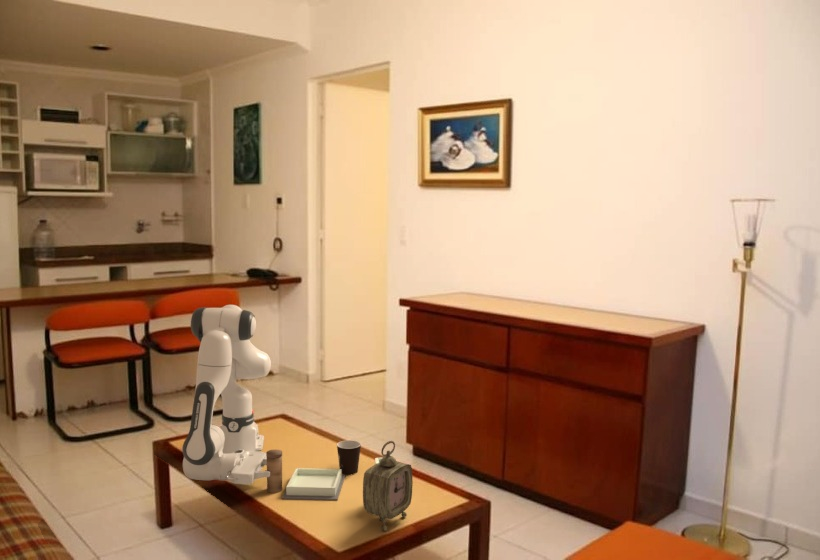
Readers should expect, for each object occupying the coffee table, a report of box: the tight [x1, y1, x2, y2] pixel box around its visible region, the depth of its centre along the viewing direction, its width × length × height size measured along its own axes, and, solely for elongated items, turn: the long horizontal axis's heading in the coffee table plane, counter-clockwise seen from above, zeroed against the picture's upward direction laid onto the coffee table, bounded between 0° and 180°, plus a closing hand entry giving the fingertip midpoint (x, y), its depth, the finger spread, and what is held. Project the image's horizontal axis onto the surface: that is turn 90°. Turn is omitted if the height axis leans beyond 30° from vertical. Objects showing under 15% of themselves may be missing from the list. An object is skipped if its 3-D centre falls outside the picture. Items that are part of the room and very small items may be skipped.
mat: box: [281, 474, 346, 501], centre depth 228 cm, size 20×18×1 cm
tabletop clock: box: [362, 440, 414, 532], centre depth 202 cm, size 14×9×25 cm, turn 148°
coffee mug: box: [336, 439, 362, 476], centre depth 243 cm, size 12×9×10 cm
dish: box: [285, 467, 343, 496], centre depth 228 cm, size 16×16×3 cm
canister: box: [265, 449, 283, 494], centre depth 225 cm, size 5×5×13 cm
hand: (273, 468), depth 225 cm, fingers open, 8 cm apart
